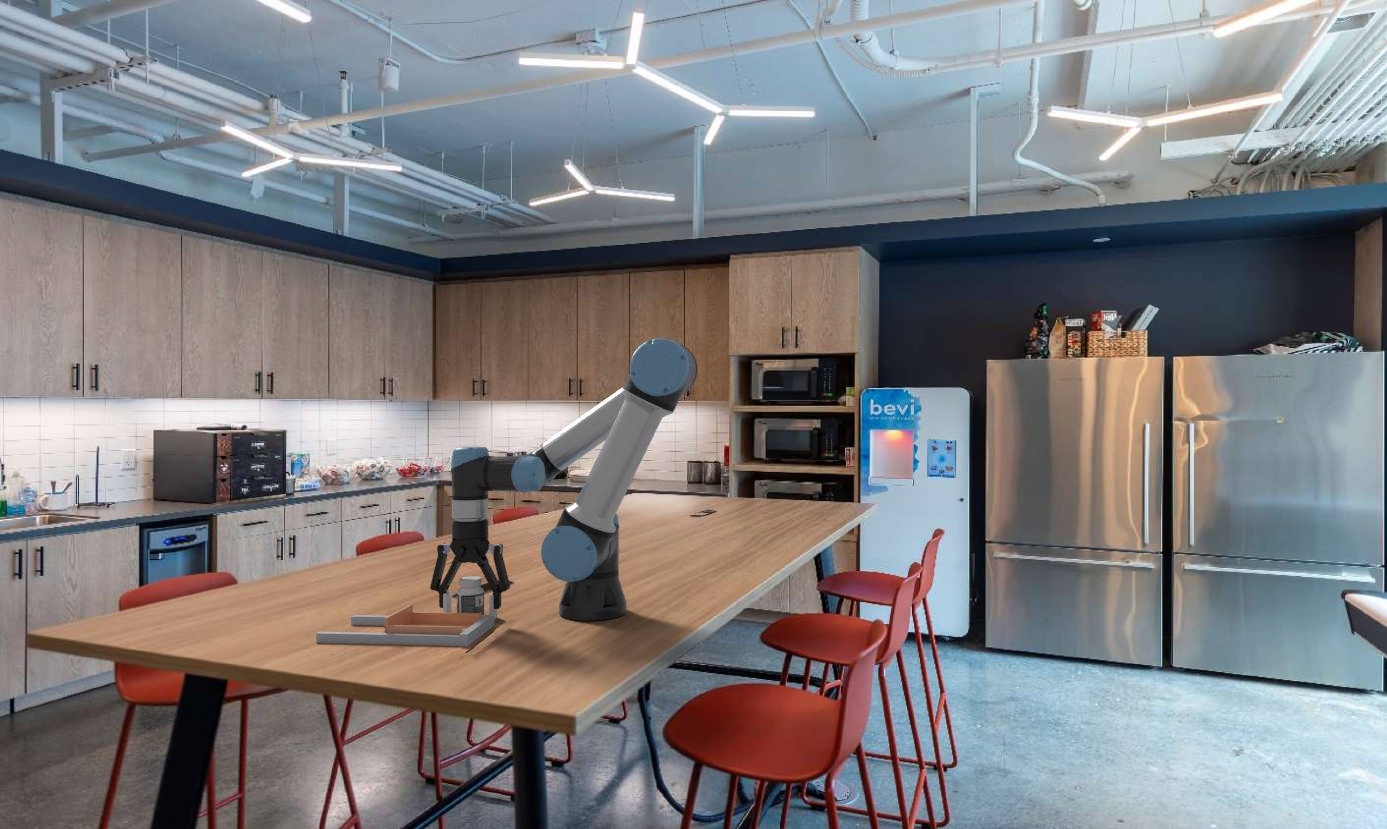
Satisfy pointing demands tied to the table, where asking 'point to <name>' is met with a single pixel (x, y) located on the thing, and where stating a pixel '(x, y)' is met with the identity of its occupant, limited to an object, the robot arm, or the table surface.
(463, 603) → the pill bottle
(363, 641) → the bay
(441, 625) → the crate
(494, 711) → the table surface
